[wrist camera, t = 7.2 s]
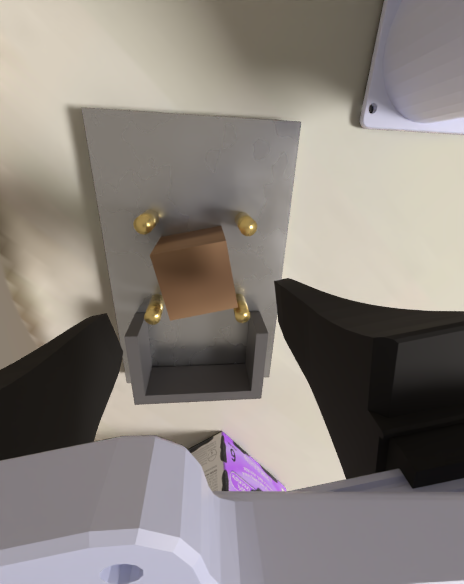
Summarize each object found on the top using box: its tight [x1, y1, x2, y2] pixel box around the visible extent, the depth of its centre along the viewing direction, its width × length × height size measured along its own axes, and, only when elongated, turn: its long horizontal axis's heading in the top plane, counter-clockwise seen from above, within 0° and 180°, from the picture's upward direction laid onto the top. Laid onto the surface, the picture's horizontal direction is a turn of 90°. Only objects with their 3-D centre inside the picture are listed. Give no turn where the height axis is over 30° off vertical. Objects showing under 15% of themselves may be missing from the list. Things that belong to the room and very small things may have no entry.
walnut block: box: [150, 226, 238, 321], centre depth 16 cm, size 4×4×4 cm
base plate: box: [82, 108, 301, 383], centre depth 18 cm, size 19×12×4 cm, turn 178°
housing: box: [124, 311, 268, 405], centre depth 20 cm, size 6×9×3 cm, turn 88°
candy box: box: [188, 432, 286, 491], centre depth 23 cm, size 14×6×16 cm, turn 34°
